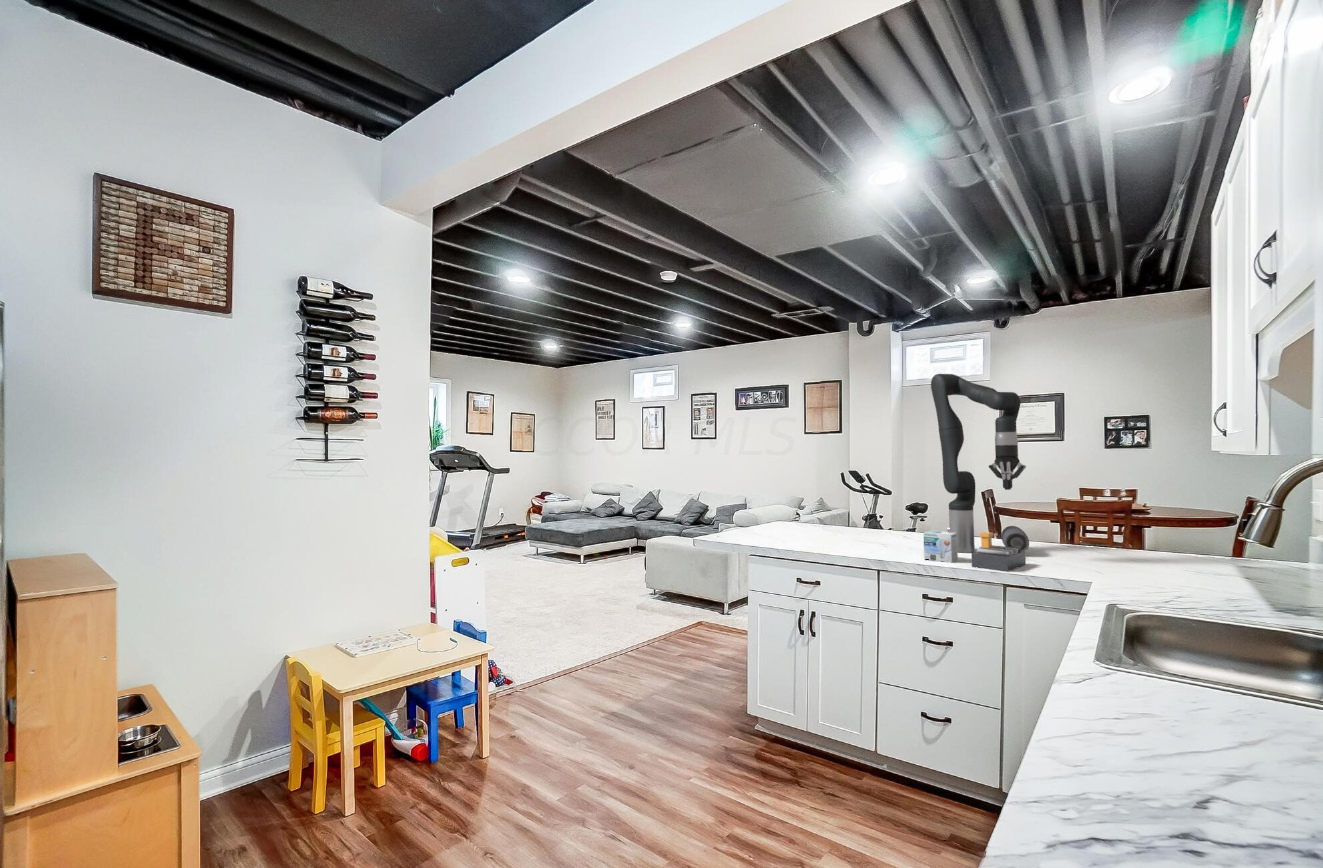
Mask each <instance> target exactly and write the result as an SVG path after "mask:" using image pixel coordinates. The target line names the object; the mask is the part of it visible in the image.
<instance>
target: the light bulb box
mask: <svg viewBox="0 0 1323 868" xmlns="http://www.w3.org/2000/svg"><path fill="white" fill-rule="evenodd" d="M958 555H959V552H957V533H955V532H947V531H938V530H926V531H924V532H923V560H924V559H929V560H928V561H932V560H934V561H935V562H941V561H944V562H943V563H949V562H950V564H952V563H954V561H955V562H957V561H959V558H958V557H959V556H958ZM934 561H933V562H934Z"/></svg>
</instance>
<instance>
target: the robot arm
mask: <svg viewBox="0 0 1323 868" xmlns="http://www.w3.org/2000/svg"><path fill="white" fill-rule="evenodd" d="M930 391H931V395H932V398H933V401H934V407H935V411H936V413H935V414H936V416H937V417H936V418H937V425H938V433H939V442H940V447H941V449H940V450H941V458H942V482H943V485H944V489H945V490H946V492H947V493H949V494H951V495H954V494H956V497H955V499H953V500H952V501H950V502H949V503H948V517H949V518H948V520H949V521H948V523H949V527H947V529H946V530H947V531H946V532H955V533H957V553H974V552H976V551H975V525H974V523H975V519H974V506H975V503H976V480H975V477H974V475H973V473H972V472H970V471H967V470H965V471H964V470H962V471H961V470H960V471H959V468H958V467H959V466H958V465H959V464H958V461H959V460H958V458H959V454H960V452H961V451H962V450H961V449H962V447H963V445H964V440H965V436H964V435H965V434H964V429H963V427H964V426H963V423H962V421H961V420H960V418H959V417H958V415H957V414H956V412H955V411H954V409H953V408H952V406H951V404H950V400H949V396H964V397H967V399H969V400H970V401H972V402H974V403H977V404H981V405H984V406H987V407H988V408H990V409H991V410H995V411H1003V412H1002V416H999V417H996V419H995V420H994V425H995V426H994V427H995V436H994V446H995V447H994V450H995V453H994V454H995V459H994V462H993V463H992V464H989V465H988V468H989V469H990V470H991V472H992V473H993V474H994V475H995V476H996V477H997V478H998V479H1001V480H1002V488H1003V489H1004V490H1005V491H1006V490H1007V491H1009V490H1012V489H1013V480H1014V479H1017V478H1018V477H1020V475H1021V474H1022V473H1023V471H1024V470H1026V468H1027V466H1026V465H1025V464H1023V463H1021V461H1020V459H1019V448H1018V446H1019V440H1018V434H1017V433H1018V432H1017V420H1018V416H1019V412H1020V408H1021V398H1020V396H1019V395H1018V394H1017V393H1016V392H1014V391H1013V392H1012V391H997V390H996V389H995V388H993V387H989V386H987V385H986V386H985V385H982V384H978V383H974V382H971V381H968V380H967V379H965V378H962V376H961V377H960V376H958V375H956V374H953V373H937V374H935V375H934V376H933V377H932V378H931V381H930ZM1015 469H1017V470H1016V471H1015V472H1014V470H1015ZM999 470H1000V471H999Z"/></svg>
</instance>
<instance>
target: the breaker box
mask: <svg viewBox="0 0 1323 868" xmlns="http://www.w3.org/2000/svg"><path fill="white" fill-rule="evenodd" d="M995 546H996V545H994V546H992V548H985V547H982V546H979V547H978V549H987V550H996V551H1006V552H1009V553H1010V555H1009V556H1005V555H996V554H987V553H978V552H977V551H974V552H970V553H971V567H972V568H976V567H977V568H976V569H984V570H991V571H1001V572H1010V571H1013V570H1016V569H1018V568H1021V567H1024V566H1026V564H1027V563H1026V551H1021V552H1018V549H1015V548H1005V546H1004V547H995Z"/></svg>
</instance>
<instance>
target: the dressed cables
mask: <svg viewBox="0 0 1323 868" xmlns="http://www.w3.org/2000/svg"><path fill="white" fill-rule="evenodd" d="M992 546H995V547H1005V545H1003V546H1002V545H994V544H992ZM1005 548H1014V547H1005ZM1015 549H1018V552H1021V549H1020V548H1015ZM976 552H978V553H987V554H996V555H1005V556H1009V555H1010V553H1009V552H1006V551H996V550H987V549H979V548H976Z"/></svg>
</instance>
